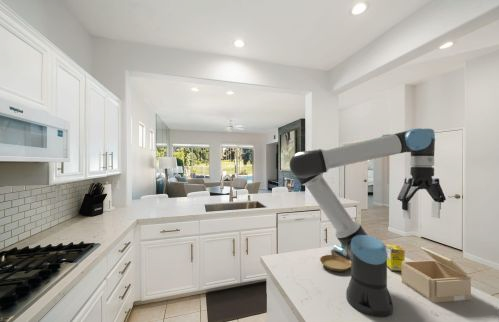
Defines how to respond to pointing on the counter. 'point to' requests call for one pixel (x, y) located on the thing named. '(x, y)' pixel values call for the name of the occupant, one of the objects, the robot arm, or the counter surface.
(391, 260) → the supplement box
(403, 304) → the counter surface
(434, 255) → the flap
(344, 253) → the brown slatted round stand
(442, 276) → the carton
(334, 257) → the plant saucer
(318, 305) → the counter surface
